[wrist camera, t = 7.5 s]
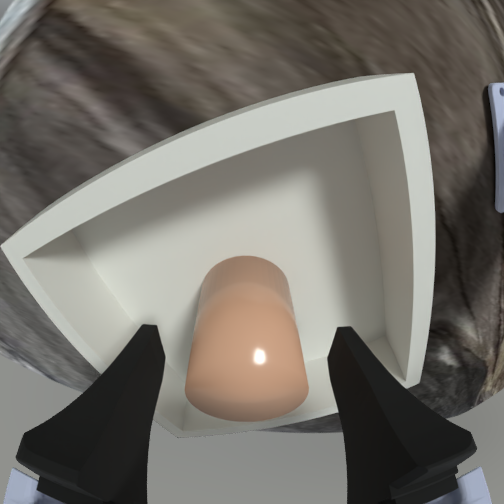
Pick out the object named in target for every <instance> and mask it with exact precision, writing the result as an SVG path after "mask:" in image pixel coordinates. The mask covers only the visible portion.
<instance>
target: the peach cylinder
mask: <svg viewBox="0 0 504 504" xmlns="http://www.w3.org/2000/svg"><path fill="white" fill-rule="evenodd" d="M308 393H309V385H308V380H307V374H306V369H305V364H304V358H303V353H302V348H301V343H300V337H299V332H298V327H297V322H296V317H295V312H294V307H293V302H292V297H291V293H290V288H289V283H288V280H287V278H286V276H285V274H284V273H283V271H282V270H281V269H280V268H279V267H278V266H276V265H275V264H274V263H272V262H270V261H268V260H266V259H263V258H260V257H256V256H236V257H231V258H228V259H225V260H223V261H221V262H219V263H218V264H216V265H215V266H214V267H213V268H211V269H210V271H209V272H208V273H207V275H206V276H205V278H204V281H203V284H202V289H201V294H200V300H199V305H198V311H197V316H196V322H195V328H194V333H193V339H192V345H191V351H190V357H189V364H188V370H187V377H186V383H185V395H186V397H187V399H188V401H189V402H190V403H191V404H192V405H193V406H194V407H195V408H197V409H198V410H200V411H201V412H203V413H205V414H208V415H210V416H213V417H216V418H219V419H223V420H229V421H237V422H255V421H264V420H269V419H273V418H277V417H280V416H283V415H285V414H287V413H289V412H291V411H293V410H295V409H296V408H297V407H299V406H300V405H301V404H302V403H303V402H304V401H305V399H306V398H307V396H308Z"/></svg>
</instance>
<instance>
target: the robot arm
mask: <svg viewBox="0 0 504 504" xmlns="http://www.w3.org/2000/svg"><path fill="white" fill-rule="evenodd" d="M488 93H489V99H490V106H491V113H492V121H493V131H494V143H495V164H496V193H495V209H496V210H497V211H498V212H500V213H503V212H504V83H490V84H489V86H488ZM165 359H166V356H165V353H164V349H163V346H162V342H161V338H160V334H159V331H158V327H157V325H150V324H142V325H141V326H140V328H139V329H138V330H137V332H136V333H135V334H134V336H133V337H132V338H131V340H130V341H129V342H128V343H127V345H126V346H125V347H124V349H123V350H122V351H121V352H120V354H119V355H118V356H117V357H116V358H115V360H114V361H113V362H112V363H111V364H110V366H109V367H108V368H107V369H106V370H105V371H104V372H103V373H102V374H101V376H100V377H99V378H98V379H97V380H96V381H95V382H94V383H93V384H92V385H91V386H90V387H89V388H88V389H87V390H86V391H85V392H84V393H83V394H81V395H80V396H79V397H78V398H77V399H76V400H74V401H73V402H72V403H71V404H70V405H68V406H67V407H66V408H64V409H63V410H62V411H60V412H59V413H57V414H56V415H55V416H53V417H52V418H50V419H49V420H47V421H46V422H44V423H42V424H40V425H39V426H37V427H35V428H33V429H31V430H29V431H27V432H25V433H24V435H23V438H22V440H21V443H20V446H19V449H18V452H17V455H16V459H17V461H18V462H19V463H21V464H22V465H23V466H25V467H27V468H28V469H30V470H31V471H33V472H34V473H36V474H38V475H39V476H40V477H39V481H38V480H36V479H34V478H32V477H31V476H29V475H27V474H25V473H23V472H21V471H19V470H18V469H16V468H12V471H11V474H10V478H9V482H8V485H7V490H6V494H5V498H4V502H3V504H147V463H148V449H149V439H150V431H151V425H152V420H153V416H154V412H155V408H156V404H157V400H158V396H159V392H160V388H161V384H162V380H163V374H164V367H165ZM327 362H328V370H329V377H330V382H331V386H332V390H333V393H334V397H335V401H336V405H337V408H338V412H339V416H340V420H341V424H342V429H343V434H344V443H345V452H346V464H347V485H348V486H347V492H348V493H347V504H492V502H491V498H490V494H489V491H488V487H487V484H486V481H485V477H484V474H483V471H482V468H481V467H480V466H479V467H477V468H475V469H474V470H472V471H470V472H468V473H466V474H465V475H463V476H461V477H459V478H457V479H456V477H455V474H456V473H458V469H457V465H459V464H460V463H462V462H463V461H465V460H466V459H467V458H469V457H470V456H472V455H473V454H474V453H475V452H476V450H477V447H476V444H475V442H474V439H473V437H472V434H471V432H469V431H467V430H465V429H463V428H461V427H459V426H457V425H455V424H453V423H452V422H450V421H448V420H447V419H445V418H443V417H442V416H440V415H439V414H437V413H436V412H434V411H433V410H431V409H430V408H429V407H427V406H426V405H425V404H423V403H422V402H421V401H419V400H418V399H417V398H416V397H415V396H413V395H412V394H411V393H410V392H409V391H408V390H407V389H406V388H405V387H403V386H402V385H401V384H400V383H399V382H398V381H397V380H396V379H395V378H394V376H393V375H392V374H391V373H390V372H389V371H388V370H387V369H386V368H385V367H384V365H383V364H382V363H381V362H380V361H379V360H378V358H377V357H376V356H375V355H374V354H373V353H372V351H371V350H370V349H369V348H368V346H367V345H366V344H365V343H364V341H363V340H362V339H361V338H360V336H359V335H358V334H357V333H356V331H355V330H354V329H353V328H352V327H351V326H344V327H337V329H336V333H335V336H334V339H333V342H332V345H331V348H330V351H329V354H328V357H327Z"/></svg>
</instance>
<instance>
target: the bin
mask: <svg viewBox="0 0 504 504" xmlns="http://www.w3.org/2000/svg"><path fill="white" fill-rule="evenodd" d="M1 248H2V250H3V252H4V253H5V255H6V257H7V258H8V260H9V261H10V263H11V265H12V266H13V268H14V269H15V271H16V272H17V274H18V275H19V277H20V278H21V280H22V281H23V283H24V284H25V286H26V287H27V288H28V290H29V291H30V293H31V294H32V295H33V297H34V298H35V300H36V301H37V302H38V304H39V305H40V306H41V307H42V309H43V310H44V311H45V313H46V314H47V315H48V316H49V318H50V319H51V320H52V321H53V323H54V324H55V325H56V326H57V327H58V329H59V330H60V331H61V332H62V333H63V334H64V336H65V337H66V338H67V339H68V340H69V341H70V342H71V344H72V345H73V346H74V347H75V348H76V349H77V350H78V351H79V352H80V353H81V354H82V355H83V356H84V358H85V359H86V360H87V361H88V362H89V363H90V364H91V365H92V366H93V367H94V368H95V369H96V370H97V371H98V372H99V373H100V374H102V373H103V372H104V371H105V370H106V369H107V368H108V367H109V366H110V364H111V363H112V362H113V361H114V360H115V358H116V357H117V356H118V355H119V354H120V352H121V351H122V350H123V349H124V347H125V346H126V345H127V343H128V342H129V341H130V340H131V338H132V337H133V336H134V334H135V333H136V332H137V330H138V329H139V328H140V326H141V325H142V324H150V325H157V327H158V331H159V334H160V338H161V342H162V346H163V349H164V353H165V356H166V359H165V367H164V374H163V380H162V384H161V388H160V392H159V396H158V400H157V404H156V408H155V412H154V416H153V420H155V421H156V422H157V423H158V424H160V425H161V426H162V427H164V428H165V429H166V430H168V431H169V432H171V433H172V434H173V435H175V436H176V437H177V438H184V437H201V436H213V435H223V434H232V433H240V432H247V431H254V430H260V429H266V428H272V427H277V426H282V425H287V424H292V423H297V422H301V421H306V420H310V419H314V418H318V417H322V416H326V415H330V414H333V413H337V412H338V408H337V405H336V401H335V397H334V393H333V390H332V386H331V382H330V377H329V370H328V362H327V357H328V354H329V351H330V348H331V345H332V342H333V339H334V336H335V333H336V329H337V327H344V326H351V327H352V328H353V329H354V330H355V331H356V333H357V334H358V335H359V336H360V338H361V339H362V340H363V341H364V343H365V344H366V345H367V346H368V348H369V349H370V350H371V351H372V353H373V354H374V355H375V356H376V357H377V358H378V360H379V361H380V362H381V363H382V364H383V365H384V367H385V368H386V369H387V370H388V371H389V372H390V373H391V374H392V375H393V376H394V378H395V379H396V380H397V381H398V382H399V383H400V384H401V385H402V386H403V387H405V388H406V389H407V388H409V387H411V386H414V385H416V384H418V383H419V382H420V378H421V373H422V368H423V363H424V358H425V352H426V346H427V340H428V334H429V326H430V319H431V310H432V300H433V288H434V273H435V205H434V189H433V177H432V167H431V159H430V151H429V144H428V137H427V131H426V126H425V120H424V115H423V110H422V105H421V101H420V96H419V92H418V88H417V84H416V80H415V76H414V73H403V74H385V75H373V76H363V77H355V78H350V79H345V80H340V81H336V82H331V83H327V84H323V85H319V86H315V87H311V88H307V89H303V90H299V91H295V92H292V93H288V94H285V95H281V96H278V97H275V98H272V99H268V100H265V101H262V102H259V103H256V104H253V105H250V106H247V107H244V108H241V109H238V110H236V111H233V112H230V113H227V114H225V115H222V116H219V117H217V118H214V119H212V120H209V121H207V122H204V123H202V124H199V125H197V126H195V127H192V128H190V129H187V130H185V131H183V132H181V133H178V134H176V135H174V136H172V137H169V138H167V139H165V140H163V141H161V142H159V143H157V144H154V145H152V146H150V147H148V148H146V149H144V150H142V151H140V152H138V153H136V154H134V155H132V156H131V157H129V158H127V159H125V160H123V161H121V162H119V163H117V164H116V165H114V166H112V167H110V168H108V169H107V170H105V171H103V172H101V173H100V174H98V175H96V176H94V177H93V178H91V179H89V180H88V181H86V182H84V183H83V184H81V185H80V186H78V187H76V188H75V189H73V190H72V191H70V192H68V193H67V194H65V195H64V196H62V197H61V198H59V199H58V200H56V201H55V202H53V203H52V204H50V205H49V206H48V207H46V208H45V209H44V210H43V211H41V212H40V213H39V214H37V215H36V216H35V217H34V218H32V219H31V220H30V221H29V222H27V223H26V224H25V225H24V226H23V227H21V228H20V229H19V230H18V231H17V232H16V233H14V234H13V235H12V236H11V237H10V238H9V239H7V240H6V241H5V242H4V243H3V244H2V245H1ZM236 256H256V257H260V258H263V259H266V260H268V261H270V262H272V263H274V264H275V265H276V266H278V267H279V268H280V269H281V270H282V271H283V273H284V274H285V276H286V278H287V280H288V283H289V288H290V293H291V297H292V302H293V307H294V312H295V317H296V322H297V327H298V332H299V337H300V343H301V348H302V353H303V358H304V364H305V369H306V374H307V380H308V385H309V393H308V396H307V398H306V399H305V401H304V402H303V403H302V404H301V405H300V406H299V407H297V408H296V409H295V410H293V411H291V412H289V413H287V414H285V415H283V416H280V417H277V418H273V419H269V420H264V421H255V422H237V421H229V420H223V419H219V418H216V417H213V416H210V415H208V414H205V413H203V412H201V411H200V410H198V409H197V408H195V407H194V406H193V405H192V404H191V403H190V402H189V401H188V399H187V397H186V395H185V383H186V377H187V370H188V364H189V357H190V351H191V345H192V339H193V333H194V328H195V322H196V316H197V311H198V305H199V300H200V294H201V289H202V284H203V281H204V278H205V276H206V275H207V273H208V272H209V271H210V269H211V268H213V267H214V266H215V265H216V264H218V263H219V262H221V261H223V260H225V259H228V258H231V257H236Z"/></svg>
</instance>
